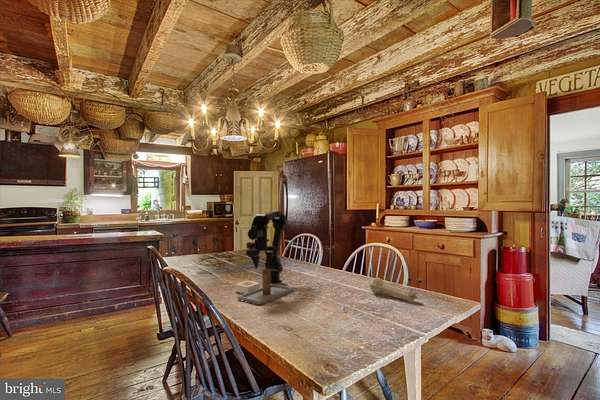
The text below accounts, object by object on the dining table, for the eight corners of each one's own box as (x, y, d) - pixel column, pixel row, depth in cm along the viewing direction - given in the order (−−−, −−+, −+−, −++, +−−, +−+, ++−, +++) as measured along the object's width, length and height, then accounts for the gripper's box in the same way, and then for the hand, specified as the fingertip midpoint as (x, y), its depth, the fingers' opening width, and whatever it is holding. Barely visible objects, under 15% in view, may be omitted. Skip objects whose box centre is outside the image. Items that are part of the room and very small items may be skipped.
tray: (272, 287, 168) (272, 283, 168) (293, 291, 160) (293, 287, 160) (237, 299, 147) (237, 296, 147) (259, 305, 139) (259, 301, 139)
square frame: (247, 287, 167) (247, 280, 167) (260, 290, 162) (259, 282, 162) (235, 292, 160) (235, 284, 160) (247, 294, 155) (247, 286, 155)
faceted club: (376, 288, 161) (423, 301, 142) (367, 296, 155) (414, 311, 137) (374, 273, 159) (421, 284, 140) (364, 280, 153) (412, 293, 135)
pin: (266, 292, 156) (265, 268, 156) (272, 293, 154) (272, 269, 154) (260, 294, 153) (260, 270, 153) (267, 295, 151) (266, 271, 151)
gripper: (262, 235, 177) (262, 262, 177) (238, 238, 161) (238, 268, 161) (277, 236, 170) (277, 264, 170) (254, 239, 155) (254, 270, 155)
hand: (262, 266), depth 165 cm, fingers open, 9 cm apart
